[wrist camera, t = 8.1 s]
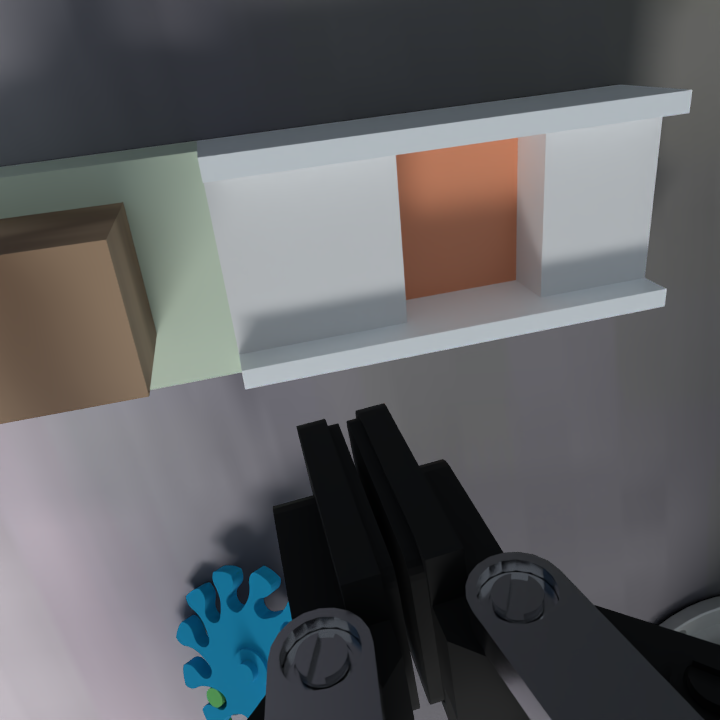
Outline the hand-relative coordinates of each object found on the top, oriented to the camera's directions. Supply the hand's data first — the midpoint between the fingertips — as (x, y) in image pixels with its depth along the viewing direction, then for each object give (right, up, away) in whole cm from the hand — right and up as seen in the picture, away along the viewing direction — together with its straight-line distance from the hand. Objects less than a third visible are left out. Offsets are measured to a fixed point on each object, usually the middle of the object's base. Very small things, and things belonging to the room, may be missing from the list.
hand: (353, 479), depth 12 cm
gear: (-6, -12, +24) cm, 27 cm away
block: (-10, +5, +11) cm, 16 cm away
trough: (-1, +8, +15) cm, 17 cm away
